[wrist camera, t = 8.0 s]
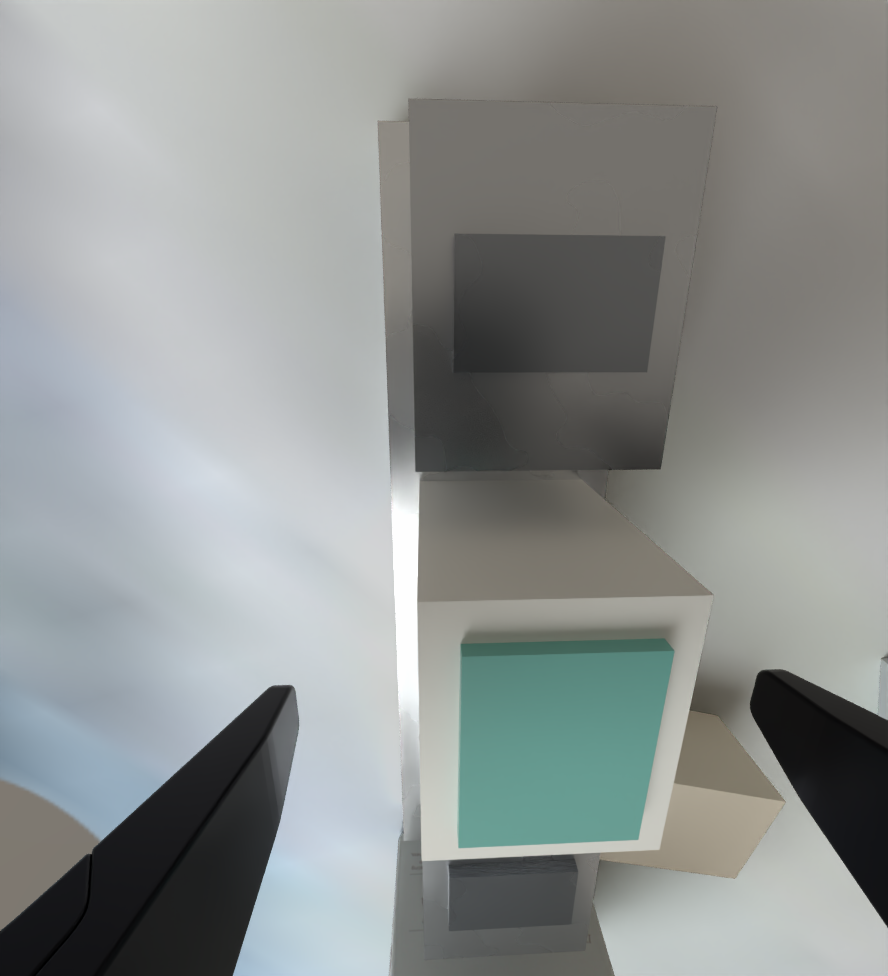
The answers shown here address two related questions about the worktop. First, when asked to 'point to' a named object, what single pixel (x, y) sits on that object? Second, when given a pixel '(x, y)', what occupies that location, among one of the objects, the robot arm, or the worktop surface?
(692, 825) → the beige block
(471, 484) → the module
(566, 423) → the rail
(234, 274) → the worktop surface
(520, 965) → the supplement box
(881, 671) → the block
